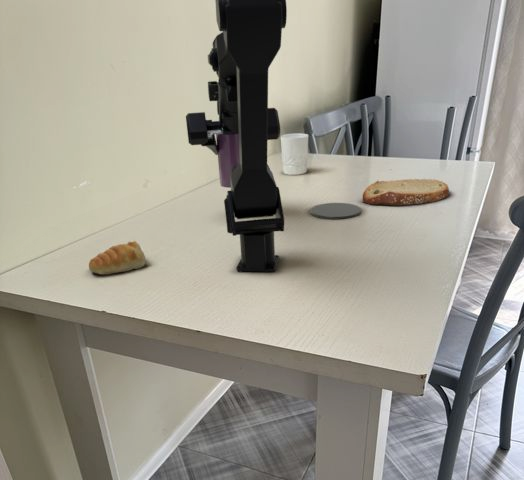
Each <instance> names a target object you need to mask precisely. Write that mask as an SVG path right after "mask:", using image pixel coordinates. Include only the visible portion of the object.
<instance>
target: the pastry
mask: <svg viewBox="0 0 524 480" xmlns="http://www.w3.org/2000/svg"><path fill="white" fill-rule="evenodd" d="M146 263H147V258H146V255H145V253H144V251H143V250H142V248H141V246H140V244H139V243H138V242H136V241H135V240H134V241H128V242H127V243H122V244H117V245H112V246H110V247H108V249H106V250H104V251H103V252H100V253H98V254H97V255H96V256H94V257H93V258H91V259H90V260H89V263H88V270H89V271H90V272H92V273H95V274H98V275H103V276H105V275H108V276H109V275H111V274H119V273H122V272H123V273H125V272H129V271H132V270H134V269H135V270H138V269H140V268H143V267H144V266H145V265H146Z"/></svg>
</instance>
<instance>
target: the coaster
mask: <svg viewBox="0 0 524 480" xmlns="http://www.w3.org/2000/svg"><path fill="white" fill-rule="evenodd" d="M361 213H362V208H361V207H360V206H358V205H356V204H352V203H347V202H346V203H345V202H328V203H321V204H317V205H315V206H312V207H311V208H310V214H311V215H312V216H313V217H316V218H320V219H325V220H344V219H350V218H351V219H352V218H354V217H357V216H359V215H360V214H361Z"/></svg>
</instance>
